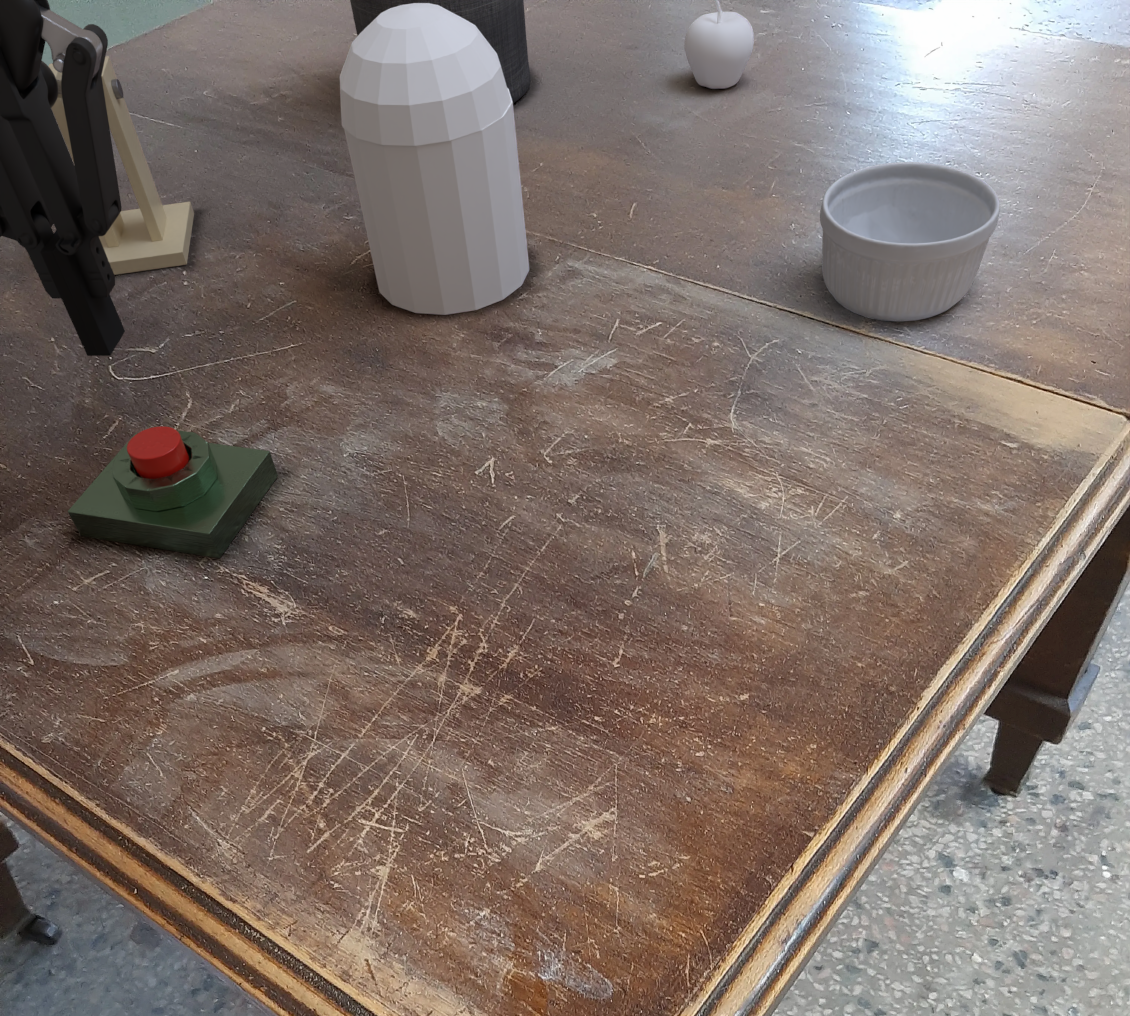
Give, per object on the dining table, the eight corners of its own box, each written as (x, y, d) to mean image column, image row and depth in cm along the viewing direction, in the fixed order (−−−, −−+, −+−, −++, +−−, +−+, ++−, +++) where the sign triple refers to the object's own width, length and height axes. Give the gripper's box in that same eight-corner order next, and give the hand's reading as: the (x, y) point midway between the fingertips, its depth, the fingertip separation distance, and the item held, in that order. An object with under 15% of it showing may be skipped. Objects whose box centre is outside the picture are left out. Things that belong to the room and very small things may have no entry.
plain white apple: (682, 71, 117) (684, -15, 111) (749, 67, 116) (754, -20, 110) (684, 98, 113) (686, 10, 106) (753, 94, 112) (759, 5, 106)
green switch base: (80, 536, 75) (55, 489, 72) (146, 457, 80) (125, 411, 77) (219, 558, 73) (199, 511, 70) (278, 476, 78) (262, 428, 75)
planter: (337, 97, 119) (300, -77, 107) (462, 46, 126) (440, -123, 114) (436, 141, 111) (407, -43, 98) (564, 83, 117) (553, -95, 105)
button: (126, 476, 73) (116, 455, 72) (153, 444, 75) (143, 423, 74) (172, 483, 72) (163, 461, 71) (198, 450, 74) (189, 429, 73)
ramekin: (891, 352, 82) (908, 262, 76) (777, 283, 89) (785, 197, 84) (1015, 291, 86) (1039, 203, 80) (896, 230, 93) (911, 145, 88)
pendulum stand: (187, 264, 98) (123, 85, 87) (87, 278, 98) (10, 100, 86) (194, 213, 104) (136, 40, 93) (101, 226, 104) (30, 54, 92)
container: (485, 326, 88) (446, 51, 72) (346, 300, 92) (282, 34, 77) (554, 247, 95) (533, -19, 80) (423, 226, 100) (378, -31, 84)
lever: (57, 108, 78) (39, 49, 76) (7, 114, 78) (-12, 56, 76) (117, 115, 93) (103, 66, 91) (75, 121, 93) (60, 71, 91)
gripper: (-285, -105, 47) (-18, 379, 65) (0, -121, 45) (189, 377, 64) (-196, -154, 51) (30, 311, 70) (65, -170, 50) (224, 308, 68)
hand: (106, 342), depth 67 cm, fingers closed
